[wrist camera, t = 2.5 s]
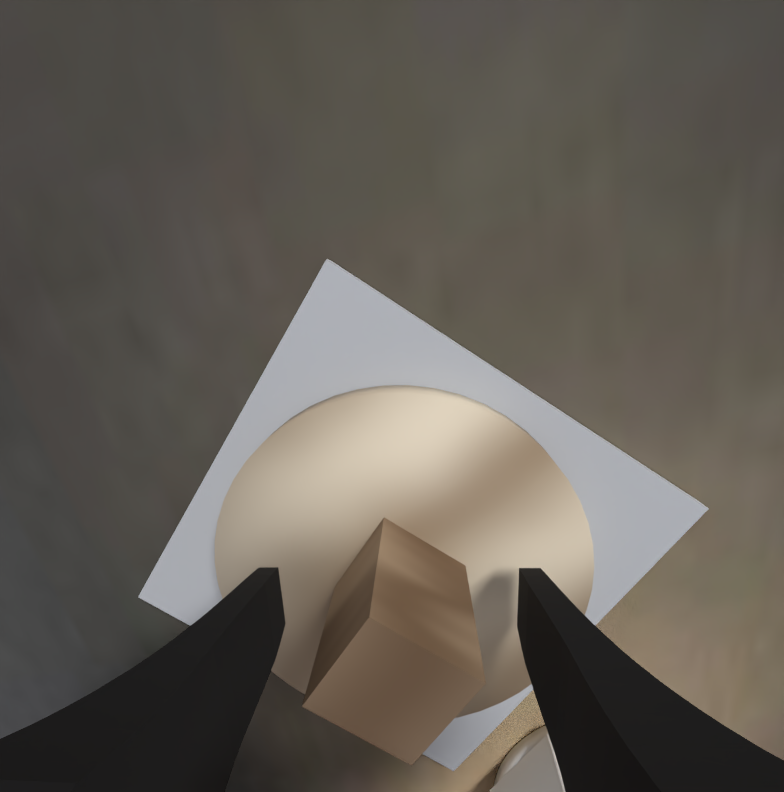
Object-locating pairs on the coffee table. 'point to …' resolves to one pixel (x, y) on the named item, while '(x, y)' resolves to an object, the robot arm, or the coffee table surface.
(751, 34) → the coffee table surface
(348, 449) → the lid
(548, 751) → the bowl
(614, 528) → the mat
